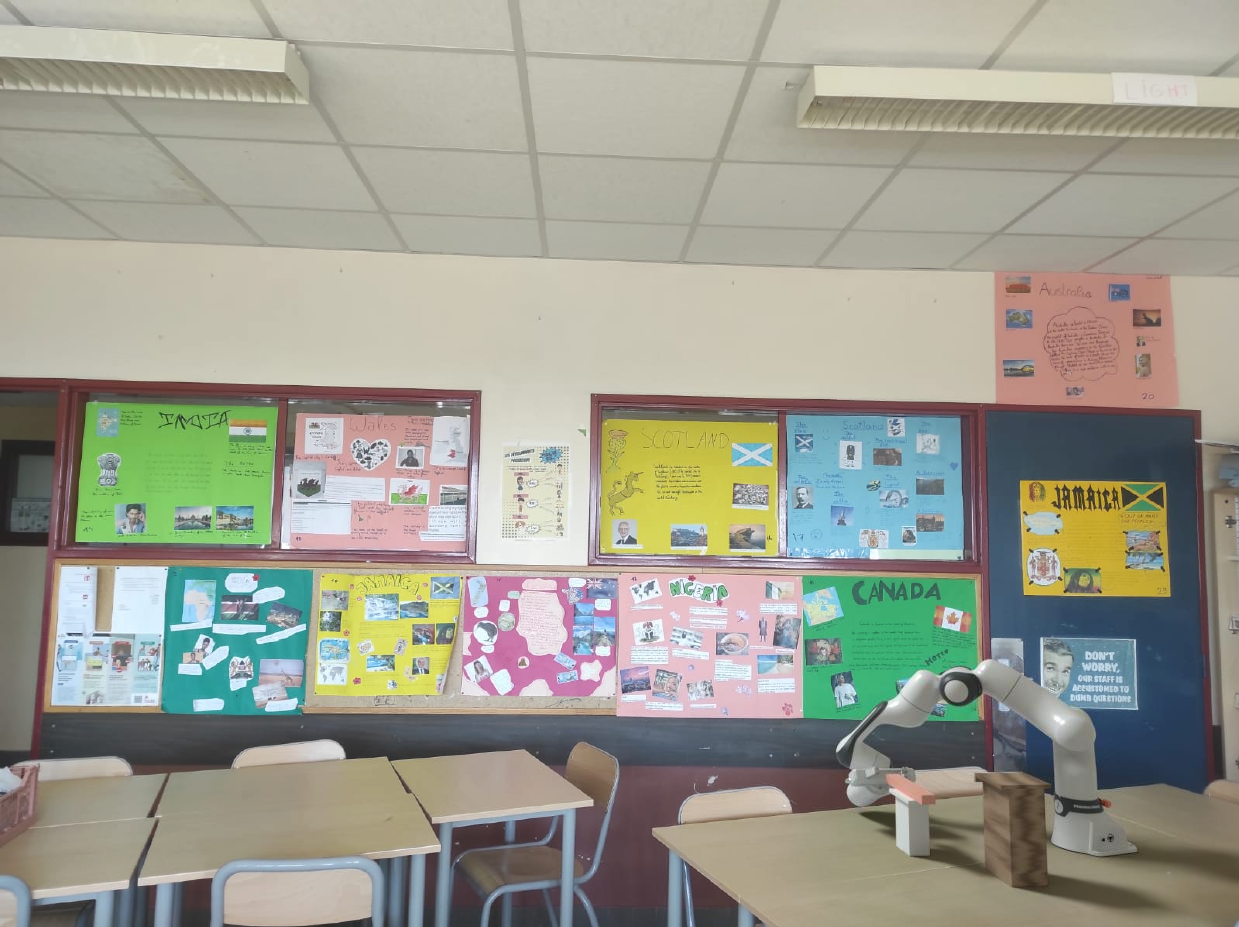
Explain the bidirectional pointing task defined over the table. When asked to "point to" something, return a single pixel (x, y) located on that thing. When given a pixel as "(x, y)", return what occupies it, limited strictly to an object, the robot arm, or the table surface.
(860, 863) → the table surface
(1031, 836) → the brown pedestal
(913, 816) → the stand
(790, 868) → the table surface
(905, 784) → the salmon pink flat bar
